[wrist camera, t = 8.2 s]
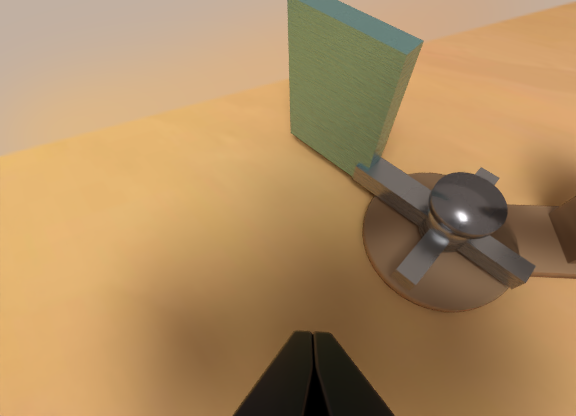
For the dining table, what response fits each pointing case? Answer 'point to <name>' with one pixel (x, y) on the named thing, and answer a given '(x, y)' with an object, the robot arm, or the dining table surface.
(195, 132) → the dining table surface
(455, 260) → the stand
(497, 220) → the turnstile
